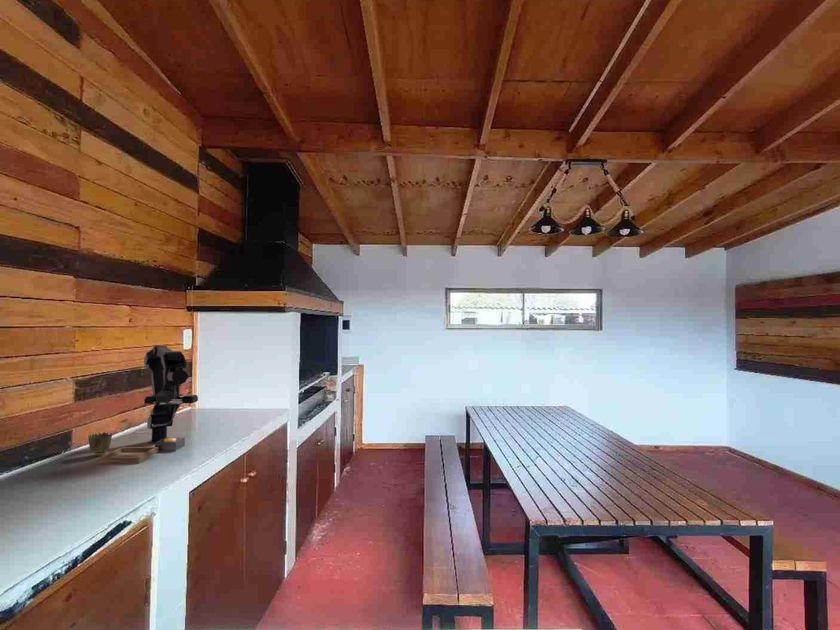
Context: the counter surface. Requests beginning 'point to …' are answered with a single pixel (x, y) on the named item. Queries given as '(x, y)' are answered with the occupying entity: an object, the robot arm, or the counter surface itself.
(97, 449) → the ornate lamp shade
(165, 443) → the panel
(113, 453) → the wooden tray
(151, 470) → the counter surface
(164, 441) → the button
